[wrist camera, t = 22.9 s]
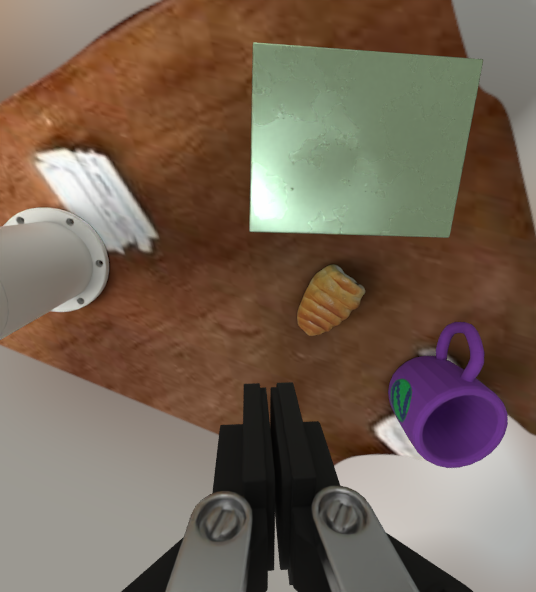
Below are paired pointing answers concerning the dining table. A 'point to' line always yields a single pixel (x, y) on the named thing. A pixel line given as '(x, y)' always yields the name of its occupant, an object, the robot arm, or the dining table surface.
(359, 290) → the pastry
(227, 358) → the dining table surface
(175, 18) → the dining table surface
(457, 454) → the mug
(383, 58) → the bin lid
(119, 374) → the dining table surface
